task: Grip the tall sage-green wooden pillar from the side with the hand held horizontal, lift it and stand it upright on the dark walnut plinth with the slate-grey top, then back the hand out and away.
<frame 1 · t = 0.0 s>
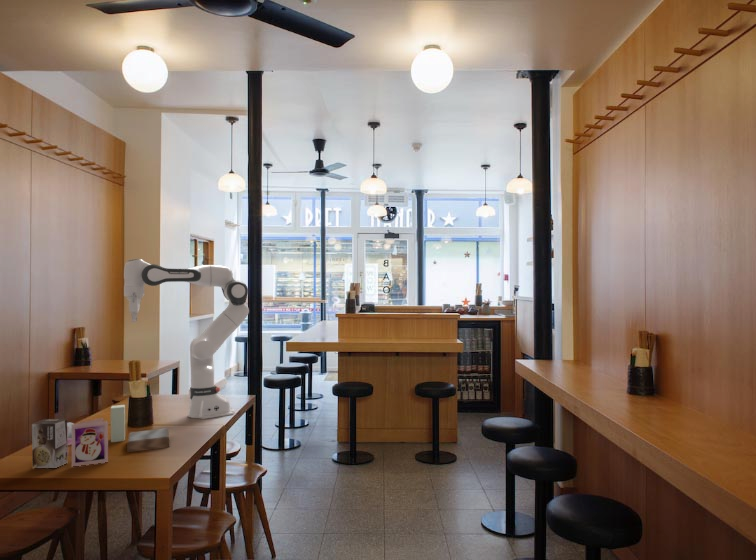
hand: (134, 321, 244), 48 cm above the table, tool pointing down, fingers open, 8 cm apart
walnut plinth: (149, 444, 206), on the table
sage pillar: (118, 440, 213), on the table
ceramic mug: (67, 443, 210), on the table
coffee box: (50, 466, 181), on the table
greeting card: (91, 463, 185), on the table
lily: (57, 455, 194), on the table
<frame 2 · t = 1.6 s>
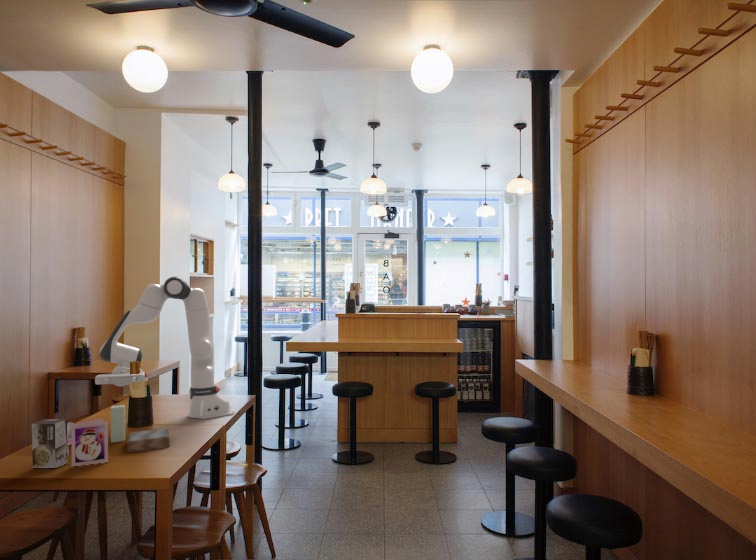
hand: (119, 381, 225), 23 cm above the table, tool horizontal, fingers open, 8 cm apart
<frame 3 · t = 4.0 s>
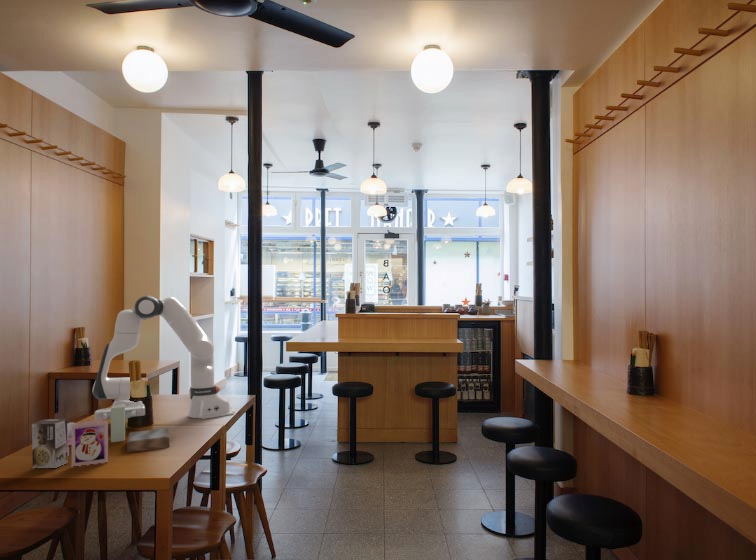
hand: (119, 416, 221), 8 cm above the table, tool horizontal, fingers open, 8 cm apart
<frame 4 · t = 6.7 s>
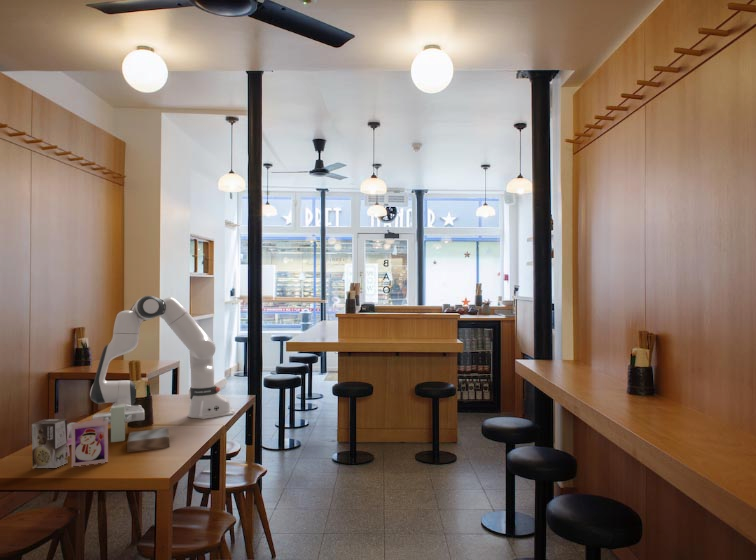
hand: (117, 421, 213), 8 cm above the table, tool horizontal, fingers closed on sage pillar, 5 cm apart
sage pillar: (118, 439, 213), on the table, touching gripper
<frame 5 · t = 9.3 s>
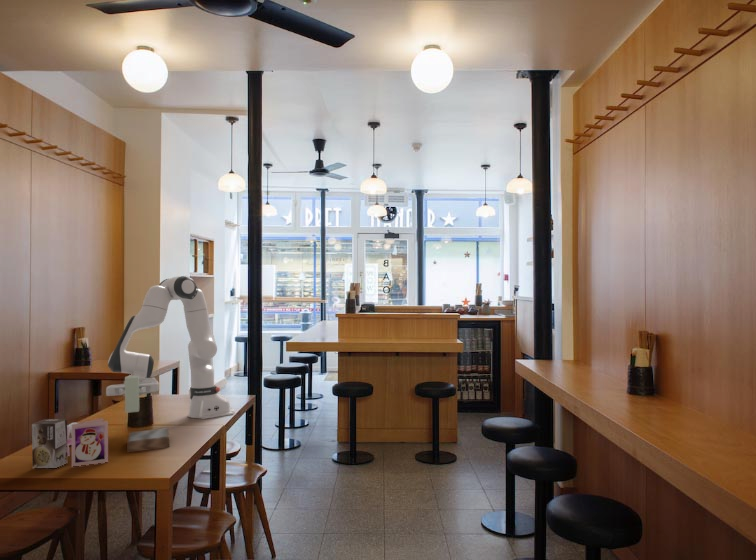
hand: (132, 391, 209), 21 cm above the table, tool horizontal, fingers closed on sage pillar, 5 cm apart
sage pillar: (132, 411, 210), point 13 cm above the table, touching gripper
when the fingers open (13 cm above the table, at t = 12.2 s): sage pillar stays where it is, resting on walnut plinth.
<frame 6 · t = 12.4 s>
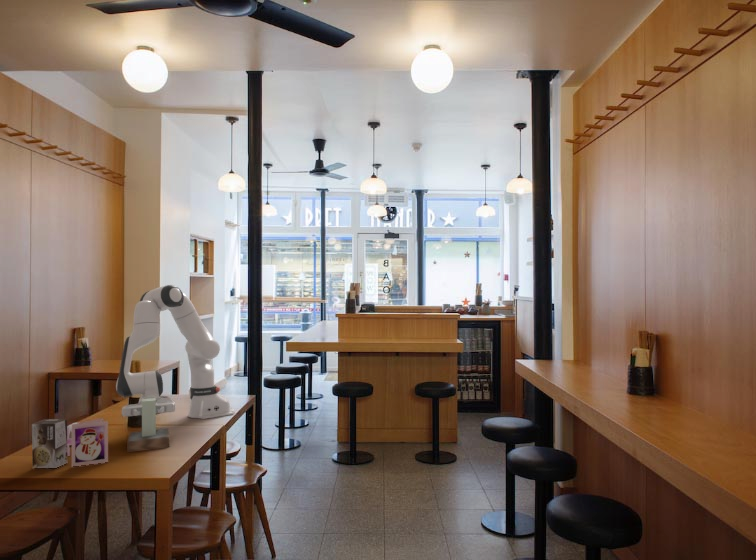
hand: (148, 412, 206), 13 cm above the table, tool horizontal, fingers open, 7 cm apart
sage pillar: (148, 434, 206), point 4 cm above the table, touching walnut plinth
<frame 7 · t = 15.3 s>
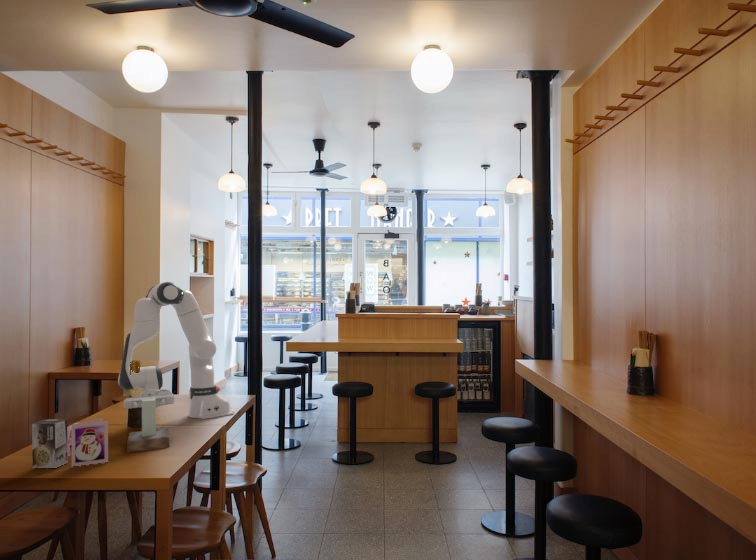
hand: (149, 404, 218), 14 cm above the table, tool horizontal, fingers open, 8 cm apart
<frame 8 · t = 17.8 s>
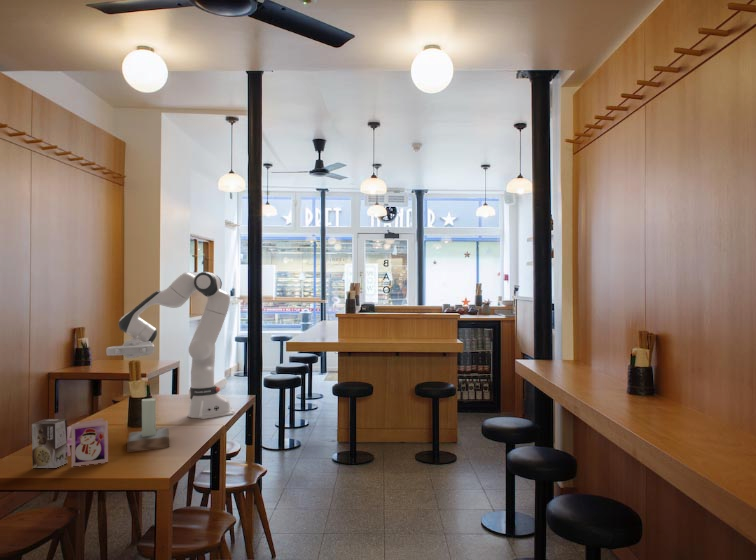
hand: (130, 351, 231), 35 cm above the table, tool horizontal, fingers open, 8 cm apart
at the end: sage pillar inside the target area on the walnut plinth (0.0 cm from its centre), point 4.0 cm above the walnut plinth's base; sage pillar tilted 0°; the gripper is holding nothing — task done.
